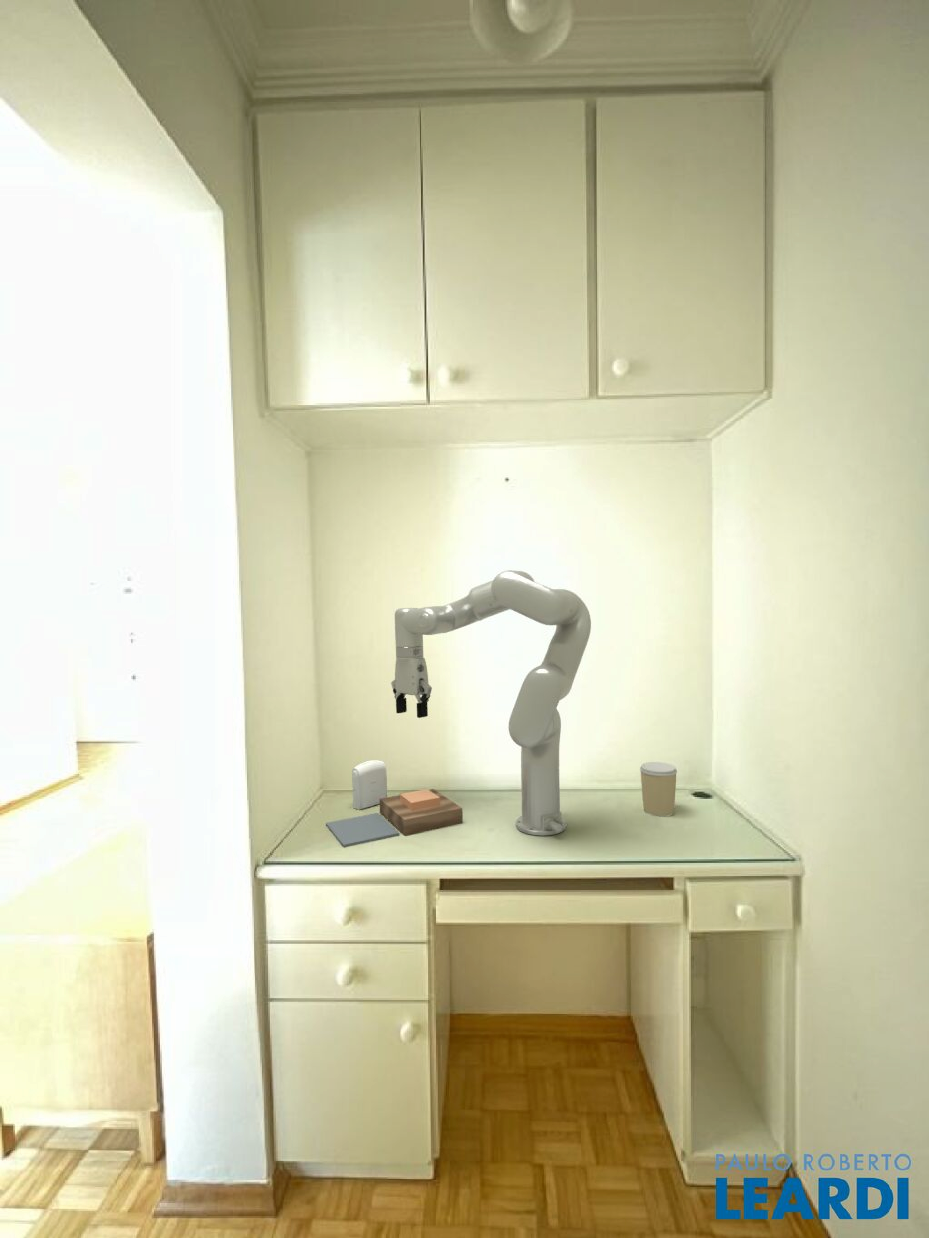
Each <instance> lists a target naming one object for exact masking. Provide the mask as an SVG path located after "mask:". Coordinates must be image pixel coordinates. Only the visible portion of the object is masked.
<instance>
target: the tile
mask: <svg viewBox="0 0 929 1238" xmlns="http://www.w3.org/2000/svg"><path fill="white" fill-rule="evenodd" d="M399 795H400V802H401V803H403V804H404V805H405V806H406V807H408V808H409V809H410V810H411V811H412V810H417V809H422V808H427V807H432V806H437V805H440V797H438V796H437V795H435V794H434V793H432V792H431V791H430V789H428V788H426V789H420V790H416V791H414V790H413V791H410V792H404V793H400V794H399Z"/></svg>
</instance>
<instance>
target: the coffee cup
mask: <svg viewBox="0 0 929 1238" xmlns="http://www.w3.org/2000/svg"><path fill="white" fill-rule="evenodd" d="M639 771H640V783H641V794H642V806H643V811H644V813H645V814H648V815H650V814H651V816H654V815H657V816H656V817H668V816H667V815H670V816H672V815H674V813H675V802H676V789H677V787H676V785H677V773H678V770H677V768H676V766H674V765H673V764H671V763H667V762H659V761H656V762H655V761H654V762H653V761H650V762H644V763H642V764H641V765H640V767H639ZM671 814H672V815H671Z"/></svg>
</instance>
